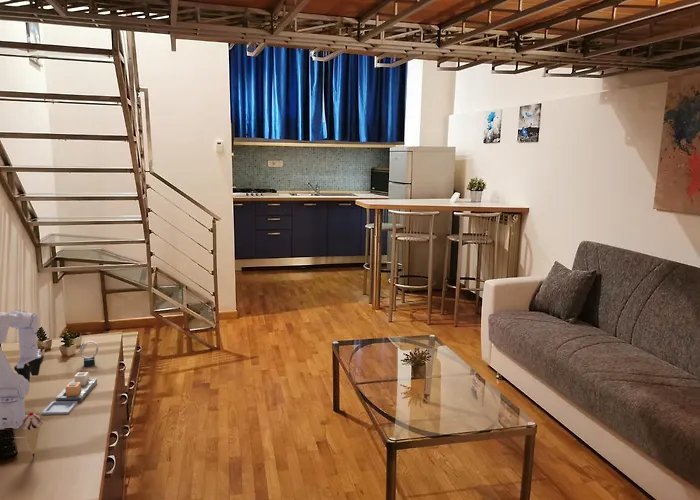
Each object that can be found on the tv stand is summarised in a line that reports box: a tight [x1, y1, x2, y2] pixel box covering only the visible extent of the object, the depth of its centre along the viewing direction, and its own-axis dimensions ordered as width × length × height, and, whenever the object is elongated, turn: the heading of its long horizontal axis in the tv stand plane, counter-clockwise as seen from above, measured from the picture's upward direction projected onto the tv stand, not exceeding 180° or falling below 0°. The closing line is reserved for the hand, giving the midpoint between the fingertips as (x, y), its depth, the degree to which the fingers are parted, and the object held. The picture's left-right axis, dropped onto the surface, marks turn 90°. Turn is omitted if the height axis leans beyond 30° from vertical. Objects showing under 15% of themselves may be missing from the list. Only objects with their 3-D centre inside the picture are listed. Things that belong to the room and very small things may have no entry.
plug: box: [65, 381, 81, 396], centre depth 202 cm, size 4×4×6 cm
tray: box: [41, 400, 79, 416], centre depth 193 cm, size 9×9×1 cm
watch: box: [78, 339, 99, 368], centre depth 236 cm, size 6×8×11 cm
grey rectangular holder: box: [55, 377, 98, 403], centre depth 207 cm, size 18×9×2 cm, turn 8°
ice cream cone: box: [20, 412, 44, 458], centre depth 161 cm, size 6×6×15 cm
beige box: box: [73, 371, 90, 385], centre depth 212 cm, size 4×4×6 cm
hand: (30, 379), depth 195 cm, fingers open, 7 cm apart
